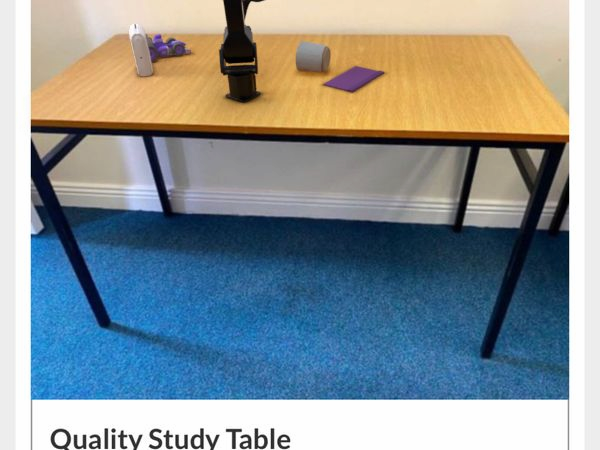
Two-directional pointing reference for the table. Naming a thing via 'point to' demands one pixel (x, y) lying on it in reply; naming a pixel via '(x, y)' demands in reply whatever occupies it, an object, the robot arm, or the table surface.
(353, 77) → the cloth
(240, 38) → the robot arm
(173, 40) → the toy race car
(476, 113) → the table surface
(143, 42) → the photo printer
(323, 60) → the ceramic mug
